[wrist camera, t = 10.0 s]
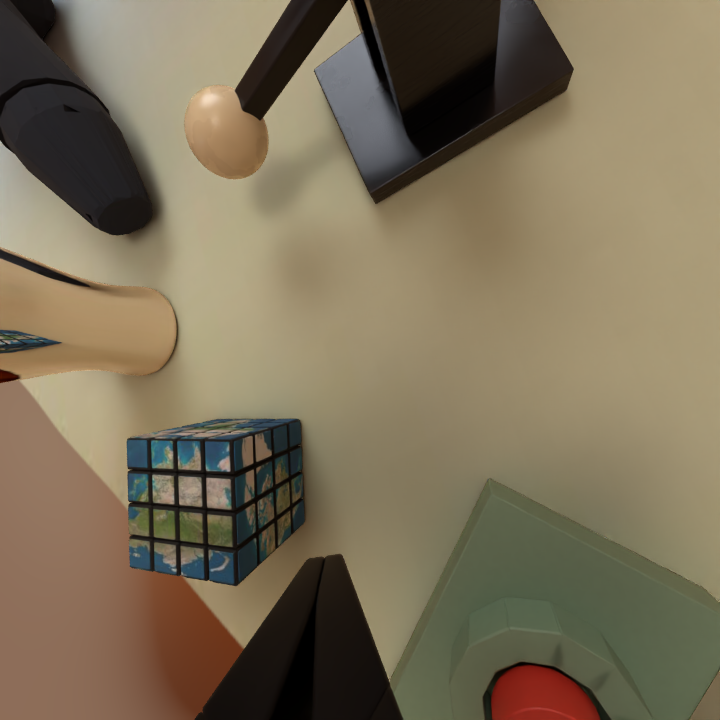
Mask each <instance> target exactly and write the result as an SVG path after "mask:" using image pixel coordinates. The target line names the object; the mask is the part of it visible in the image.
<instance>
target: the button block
mask: <svg viewBox="0 0 720 720" xmlns="http://www.w3.org/2000/svg"><path fill="white" fill-rule="evenodd" d="M520 665H540V666H545V667H548V668H551V669H554V670H556V671H558V672H560V673H562V674H564V675H565V676H567V677H568V678H570V679H571V680H572V681H574V682H575V683H576V684H577V685H578V686H579V687H580V688H581V689H582V690H583V691H584V692H585V693H586V694H587V695H588V697H589V698H590V699H591V701H592V702H593V704H594V706H595V707H596V710H597V712H598V714H599V716H600V719H601V720H689V719H690V717H691V715H692V714H693V712H694V710H695V709H696V707H697V706H698V704H699V702H700V701H701V699H702V697H703V696H704V694H705V693H706V691H707V689H708V688H709V686H710V684H711V683H712V681H713V679H714V678H715V676H716V675H717V673H718V671H719V670H720V603H719V602H718V601H717V600H716V599H715V598H714V597H713V596H712V595H711V594H710V593H709V592H707V591H706V590H705V589H704V588H702V587H700V586H698V585H696V584H694V583H693V582H691V581H689V580H687V579H685V578H683V577H681V576H679V575H677V574H675V573H673V572H671V571H669V570H667V569H665V568H663V567H661V566H659V565H658V564H656V563H654V562H652V561H650V560H648V559H646V558H644V557H642V556H640V555H638V554H636V553H634V552H632V551H630V550H628V549H626V548H624V547H622V546H621V545H619V544H617V543H615V542H613V541H611V540H609V539H607V538H605V537H603V536H601V535H599V534H597V533H595V532H593V531H591V530H589V529H587V528H586V527H584V526H582V525H580V524H578V523H576V522H574V521H572V520H570V519H568V518H566V517H564V516H562V515H560V514H558V513H556V512H554V511H552V510H551V509H549V508H547V507H545V506H543V505H541V504H539V503H537V502H535V501H533V500H531V499H529V498H527V497H525V496H523V495H521V494H519V493H517V492H515V491H514V490H512V489H510V488H508V487H506V486H504V485H502V484H500V483H498V482H496V481H494V480H492V479H488V481H487V483H486V485H485V487H484V489H483V491H482V493H481V495H480V497H479V499H478V501H477V503H476V505H475V507H474V509H473V512H472V514H471V516H470V518H469V520H468V522H467V524H466V526H465V528H464V530H463V532H462V534H461V536H460V538H459V540H458V542H457V544H456V546H455V548H454V550H453V553H452V555H451V557H450V559H449V561H448V563H447V565H446V567H445V569H444V571H443V573H442V575H441V577H440V579H439V581H438V583H437V585H436V587H435V589H434V591H433V594H432V596H431V598H430V600H429V602H428V604H427V606H426V608H425V610H424V612H423V614H422V616H421V618H420V620H419V622H418V624H417V626H416V628H415V630H414V632H413V635H412V637H411V639H410V641H409V643H408V645H407V647H406V649H405V651H404V653H403V655H402V657H401V659H400V661H399V663H398V665H397V667H396V669H395V671H394V673H393V676H392V678H391V680H390V687H391V688H392V690H393V693H394V696H395V698H396V701H397V704H398V707H399V709H400V712H401V714H402V717H403V719H404V720H492V708H491V697H492V692H493V688H494V686H495V684H496V682H497V680H498V679H499V678H500V677H501V675H502V674H503V673H505V672H506V671H507V670H509V669H511V668H513V667H516V666H520Z"/></svg>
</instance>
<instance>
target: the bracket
mask: <svg viewBox="0 0 720 720" xmlns="http://www.w3.org/2000/svg"><path fill="white" fill-rule="evenodd" d="M350 1H351V4H352V7H353V10H354V13H355V16H356V19H357V22H358V25H359V28H360V31H361V34H360V35H359V36H357V37H356V38H355V39H353V40H352V41H351V42H349V43H348V44H347V45H346V46H344V47H343V48H342V49H340V50H339V51H338V52H336V53H335V54H334V55H333V56H331V57H330V58H329V59H327V60H326V61H325V62H323V63H322V64H321V65H319V66H318V67H317V68H316V69H314V72H315V74H316V77H317V79H318V81H319V83H320V86H321V88H322V90H323V92H324V94H325V97H326V99H327V101H328V103H329V105H330V108H331V110H332V112H333V114H334V116H335V119H336V121H337V123H338V125H339V128H340V130H341V132H342V134H343V136H344V139H345V141H346V143H347V145H348V147H349V150H350V152H351V154H352V156H353V159H354V161H355V163H356V165H357V167H358V170H359V172H360V174H361V176H362V178H363V181H364V183H365V185H366V187H367V190H368V192H369V194H370V196H371V197H372V199H373V201H374V202H375V204H377V203H378V202H380V201H382V200H383V199H385V198H387V197H388V196H390V195H392V194H393V193H395V192H397V191H398V190H400V189H402V188H403V187H405V186H407V185H408V184H410V183H412V182H413V181H415V180H417V179H418V178H420V177H422V176H423V175H425V174H427V173H428V172H430V171H432V170H433V169H435V168H437V167H438V166H440V165H442V164H443V163H445V162H447V161H448V160H450V159H452V158H453V157H455V156H457V155H458V154H460V153H462V152H463V151H465V150H467V149H468V148H470V147H472V146H473V145H475V144H477V143H478V142H480V141H482V140H483V139H485V138H487V137H488V136H490V135H492V134H494V133H495V132H497V131H499V130H500V129H502V128H504V127H505V126H507V125H509V124H510V123H512V122H514V121H515V120H517V119H519V118H520V117H522V116H524V115H525V114H527V113H529V112H530V111H532V110H534V109H535V108H537V107H539V106H540V105H542V104H544V103H545V102H547V101H549V100H550V99H552V98H554V97H555V96H557V95H559V94H560V93H562V92H564V91H565V90H566V89H567V87H568V85H569V82H570V79H571V76H572V73H573V70H574V68H573V66H572V65H571V63H570V61H569V60H568V58H567V56H566V54H565V53H564V51H563V49H562V48H561V46H560V44H559V43H558V41H557V39H556V37H555V36H554V34H553V32H552V31H551V29H550V27H549V26H548V24H547V22H546V21H545V19H544V17H543V15H542V14H541V12H540V10H539V9H538V7H537V5H536V4H535V2H534V0H350Z"/></svg>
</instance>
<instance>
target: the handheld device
mask: <svg viewBox="0 0 720 720" xmlns="http://www.w3.org/2000/svg"><path fill="white" fill-rule="evenodd" d="M54 18H55V8H54V6H53V3H52V0H0V141H1V142H2V143H3V144H4V146H5V147H6V148H8V149H9V150H10V151H12V152H13V153H14V154H15V155H16V156H17V157H18V159H19V160H20V161H21V162H22V163H23V165H24V166H25V167H26V168H27V170H28V171H30V172H31V173H32V174H33V175H34V176H35V177H37V178H38V179H39V180H40V181H41V182H42V183H44V184H45V185H46V186H47V187H48V188H49V189H51V190H52V191H53V192H54V193H55V194H56V195H58V196H59V197H60V198H61V199H62V200H64V201H65V202H66V203H67V204H68V205H69V206H71V207H72V208H73V209H74V210H75V211H76V212H78V213H79V214H80V215H81V216H82V217H83V218H85V219H86V220H87V221H88V222H89V223H90V224H92V225H93V226H94V227H96V228H98V229H100V230H101V231H104V232H106V233H108V234H111V235H124V234H130V233H132V232H134V231H136V230H138V229H140V228H143V226H144V225H145V224H146V223H147V222H148V221H149V220H150V218H151V217H152V205H151V202H150V199H149V197H148V194H147V192H146V190H145V187H144V185H143V183H142V180H141V178H140V176H139V173H138V171H137V168H136V166H135V164H134V161H133V159H132V157H131V154H130V152H129V150H128V147H127V145H126V142H125V140H124V138H123V135H122V133H121V131H120V129H119V128H118V127H117V125H116V124H115V122H114V121H113V120H112V118H111V116H110V114H109V111H108V109H107V108H106V107H105V105H104V104H103V103H102V102H101V100H100V99H99V98H98V97H97V96H96V95H95V94H94V93H93V92H92V91H91V90H90V88H89V87H88V86H87V85H86V84H85V83H84V82H83V81H82V80H81V79H80V78H79V77H78V76H77V75H76V74H75V73H74V72H73V71H72V70H71V69H70V68H69V67H68V66H67V65H66V64H65V63H64V62H63V61H62V60H61V59H60V58H59V57H58V56H57V55H56V54H55V53H54V52H53V51H52V50H51V49H50V48H49V47H48V46H47V45H46V44H45V43H44V41H43V40H42V39H43V37H44V36H45V34H46V33H47V31H48V30H49V29H50V27H51V26H52V24H53V23H54Z"/></svg>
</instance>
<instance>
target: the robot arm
mask: <svg viewBox="0 0 720 720" xmlns="http://www.w3.org/2000/svg"><path fill="white" fill-rule="evenodd" d="M195 720H404V719H403V717H402V714H401V712H400V709H399V707H398V704H397V701H396V698H395V696H394V693H393V690H392V688H391V687H390V683H389V680H388V677H387V675H386V672H385V669H384V666H383V664H382V661H381V658H380V656H379V653H378V650H377V647H376V645H375V642H374V639H373V637H372V634H371V631H370V628H369V626H368V623H367V620H366V618H365V615H364V612H363V609H362V607H361V604H360V601H359V599H358V596H357V593H356V590H355V588H354V585H353V582H352V580H351V577H350V574H349V571H348V569H347V566H346V563H345V561H344V558H343V556H342V554H335V555H328V556H326V557H325V558H324V557H315V558H309V559H308V560H306V562H305V563H304V564H303V566H302V567H301V569H300V570H299V572H298V573H297V574H296V576H295V577H294V579H293V580H292V582H291V583H290V584H289V586H288V587H287V589H286V590H285V592H284V593H283V594H282V596H281V597H280V599H279V600H278V601H277V603H276V604H275V606H274V607H273V609H272V610H271V611H270V613H269V614H268V616H267V617H266V619H265V620H264V621H263V623H262V624H261V626H260V627H259V629H258V630H257V631H256V633H255V634H254V636H253V637H252V639H251V640H250V641H249V643H248V644H247V646H246V647H245V649H244V650H243V651H242V653H241V654H240V656H239V657H238V659H237V660H236V661H235V663H234V664H233V666H232V667H231V668H230V670H229V671H228V673H227V674H226V676H225V677H224V678H223V680H222V681H221V683H220V684H219V686H218V687H217V688H216V690H215V691H214V693H213V694H212V696H211V697H210V698H209V700H208V701H207V703H206V704H205V706H204V707H203V713H202V712H200V713H199V714H198V715H197V717H196V718H195Z"/></svg>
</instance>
